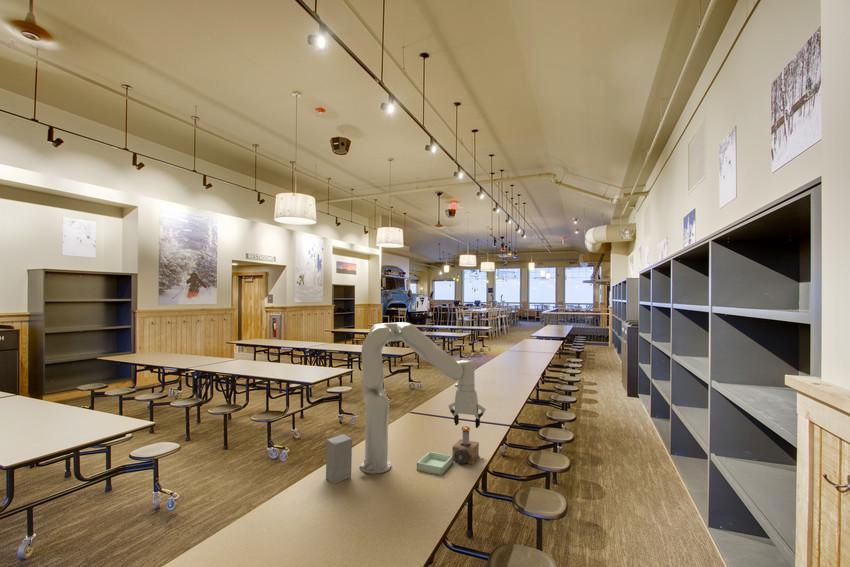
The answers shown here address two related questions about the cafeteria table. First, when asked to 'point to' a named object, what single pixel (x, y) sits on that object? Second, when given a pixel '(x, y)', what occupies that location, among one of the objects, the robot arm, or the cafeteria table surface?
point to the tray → (435, 463)
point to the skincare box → (338, 458)
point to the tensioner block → (465, 452)
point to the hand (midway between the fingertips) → (467, 425)
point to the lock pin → (465, 436)
